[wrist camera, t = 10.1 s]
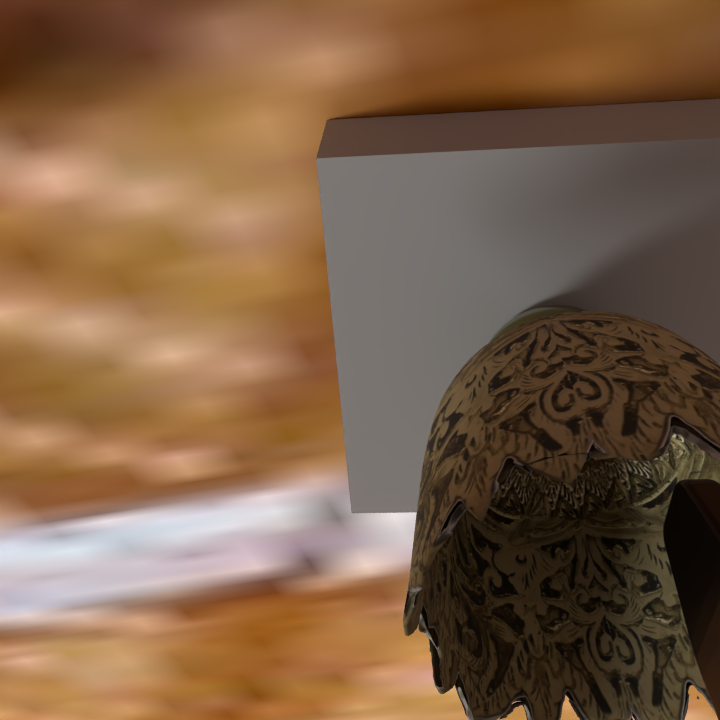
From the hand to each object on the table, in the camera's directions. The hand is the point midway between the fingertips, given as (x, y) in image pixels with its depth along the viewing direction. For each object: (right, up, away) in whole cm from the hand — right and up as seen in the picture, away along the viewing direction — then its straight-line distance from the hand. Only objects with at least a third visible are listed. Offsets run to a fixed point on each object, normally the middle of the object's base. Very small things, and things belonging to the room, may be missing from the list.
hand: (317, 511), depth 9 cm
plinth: (+6, +4, +11) cm, 13 cm away
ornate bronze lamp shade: (+5, +2, +9) cm, 11 cm away
